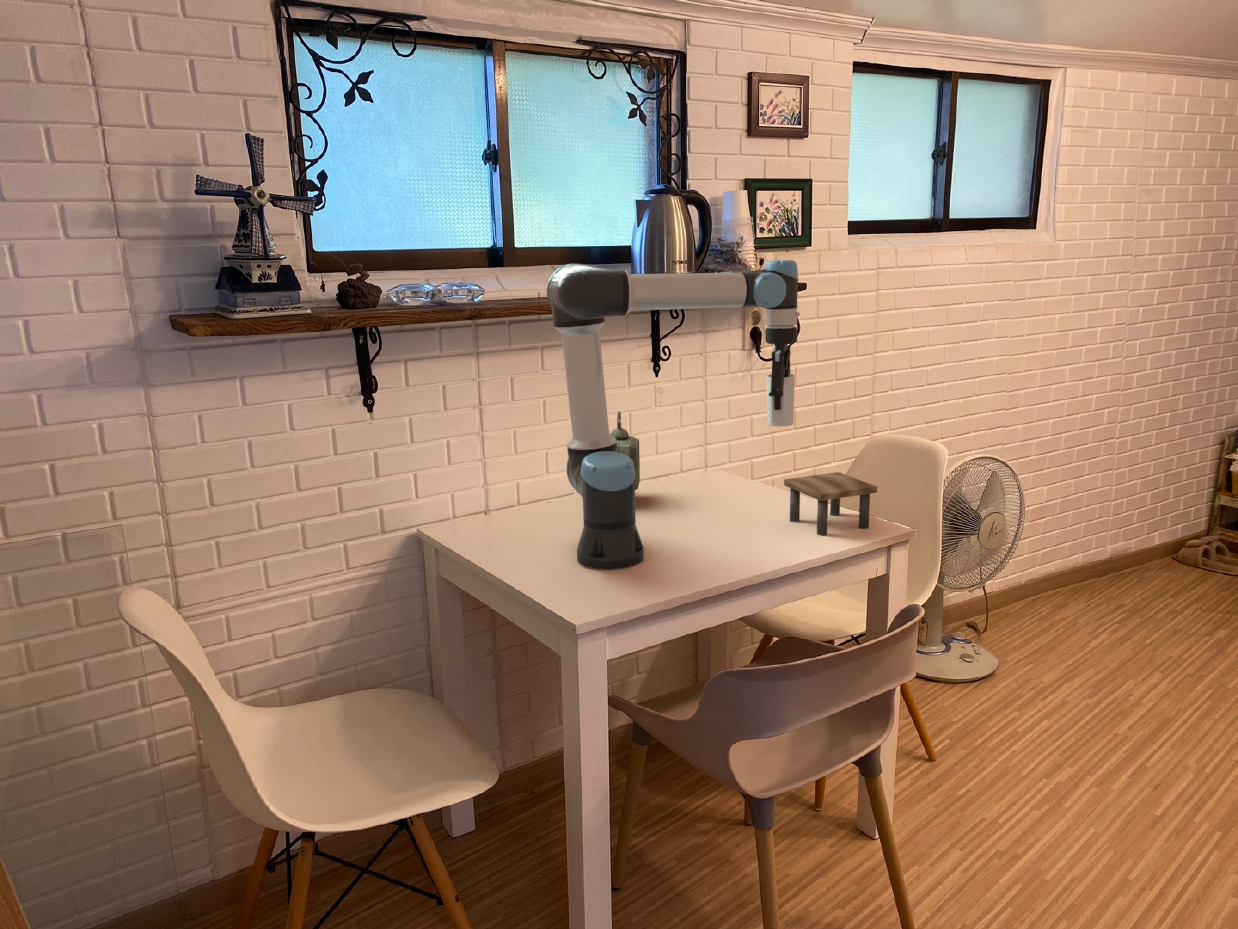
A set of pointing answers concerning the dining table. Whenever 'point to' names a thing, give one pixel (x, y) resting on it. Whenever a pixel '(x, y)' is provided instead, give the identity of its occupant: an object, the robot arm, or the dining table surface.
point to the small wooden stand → (829, 496)
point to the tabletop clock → (628, 447)
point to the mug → (788, 401)
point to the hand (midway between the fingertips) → (781, 418)
